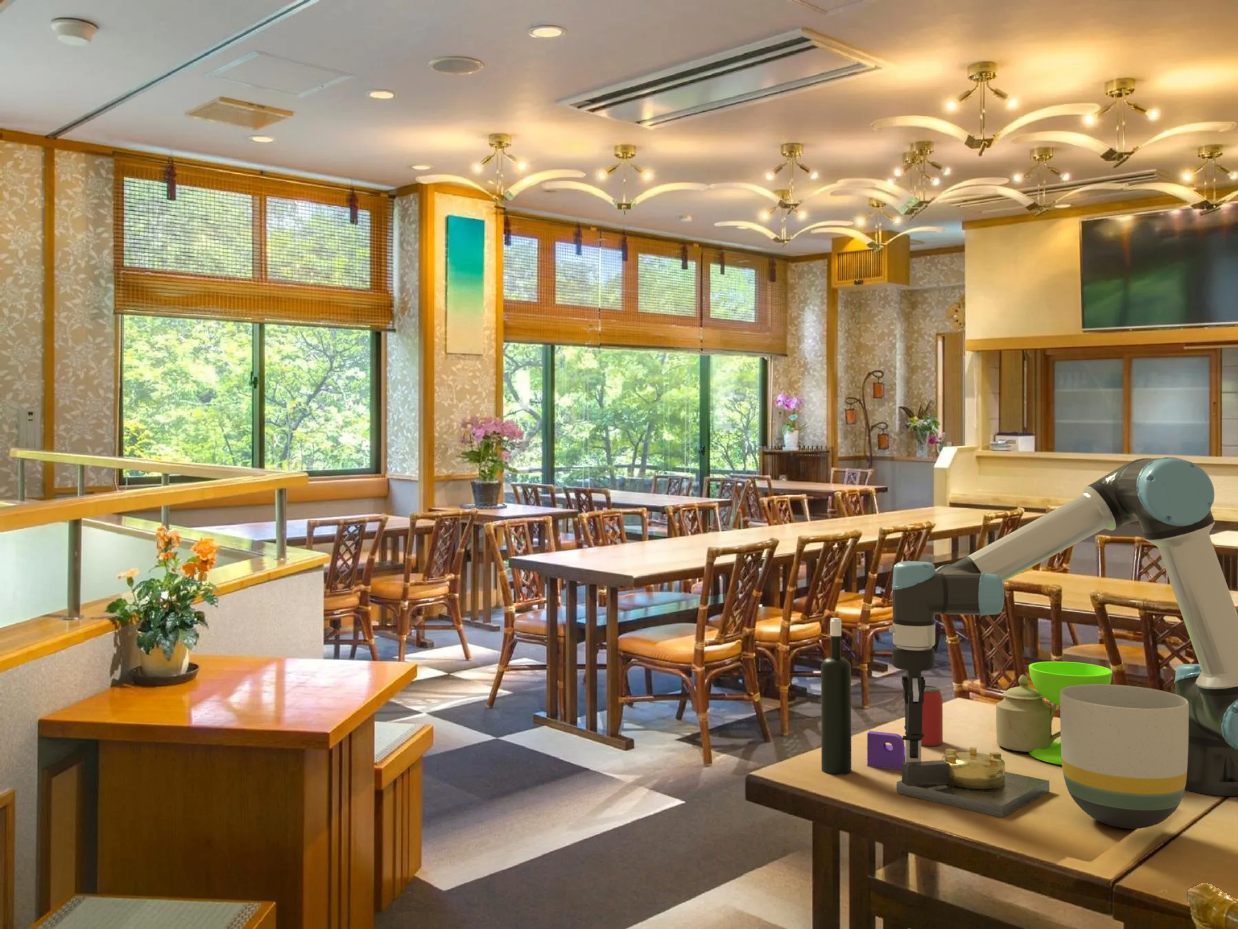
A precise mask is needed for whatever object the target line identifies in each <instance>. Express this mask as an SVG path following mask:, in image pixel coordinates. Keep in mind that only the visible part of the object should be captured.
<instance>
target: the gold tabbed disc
mask: <svg viewBox="0 0 1238 929" xmlns="http://www.w3.org/2000/svg"><path fill="white" fill-rule="evenodd" d="M977 750H978V748H977V747H974V746H973V747H971V746H970V747H969V751H966V752H965V751H959V752H958V750H957V749H953V748H946V749H945V754H944V755H942V756H941V759H939V760H937V759H936V760H924V761H922V760H921V761H920V762H904V763H902V770H901V780H902V783H904V784H905V785H907V786H919V785H934V784H949V783H950V784H952V785H956V786H960V787H966V788H975V789H990V788H997V787H1001V786H1003V785H1004V784H1005V772H1006V762H1005V761H1004V760H1003V758H1002V753H1000V752H995V751H994V752H989V754H986V753H982V752H981V753H980V752H977Z"/></svg>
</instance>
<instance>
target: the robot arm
mask: <svg viewBox="0 0 1238 929" xmlns="http://www.w3.org/2000/svg"><path fill="white" fill-rule="evenodd" d="M1214 502H1215V488H1214V485H1213V482H1212V479H1211V478H1210V476H1209V475H1208V473H1207V472H1206V471H1205V470H1204V469H1203V468H1202V467H1200V466H1199V465H1197V464H1196V463H1194V462H1192V461H1190V460H1186V459H1182V458H1179V457H1169V456H1167V457H1166V456H1165V457H1156V458H1153V457H1152V458H1150V457H1148V458H1147V457H1145V458H1138V459H1134V460H1131V461H1129V462H1127V463H1124V464H1123V465H1121V466H1119V467H1118V468H1116V469H1114V470H1112V471H1111V472H1109V473H1107V474H1106V475H1104V476H1103V477H1102V476H1101V478H1099V479H1097V480H1096V481H1094V482H1092V483H1090V484H1088V485H1086V486H1085V487H1084V488H1083V491H1082V494H1081V495H1079V496H1077V497H1076V498H1074V499H1072V500H1070V501H1068V502H1066V503H1064V504H1063V505H1061V506H1058V507H1057V508H1054V509H1053V510H1051V511H1049V512H1048V513H1046V514H1043V515H1041V516H1040V517H1038V518H1037V519H1034V520H1032V521H1031V522H1029V523H1027V524H1025V525H1023V526H1022V527H1019V528H1018V529H1016V530H1014V531H1011V533H1009V534H1007V535H1005V536H1002V537H1001V538H999V539H997V540H995V541H993V542H991V543H990V544H988V545H986V546H984V547H982V548H980V549H978V550H977V551H975V552H973V553H971V554H969V555H968V556H966V557H964V558H962V559H959V560H957V561H956V562H954V563H952V564H950V563H948V564H944V565H941V566H939V567H937V568H936V567H935V564H934V563H932V562H929V561H918V560H913V561H912V560H911V561H910V560H905V561H899V562H897V563H896V564H895V565H894V566H893V570H892V572H893V573H892V585H891V589H892V591H891V592H892V594H891V595H892V596H891V597H892V598H891V600H892V626H893V627H889V628H888V632H889V633H891V634H892V644H893V645H894V646H893V647H892V657H891V658H892V660H891V662H892V666H893V667H894V668H896V669H898V670H902V671H904V670H905V675H901V685H902V698H903V700H904V725H903V726H904V731H905V732H904V735H902V738H903V740H904V747H905V762H920V761H922V746H921V740H922V737H924V734H923V733H922V710H923V703H924V690H925V685H926V679H925V677H924V676H922V672H923V671H931V670H933V669H934V668H935V667H936V666H935V663H936V660H935V656H936V653H935V651H936V650H935V649H934V648H933V647H934V646H935V645H936V621H935V618H936V615H962V616H963V615H964V616H965V615H969V616H970V615H971V616H972V615H973V616H982V617H983V616H984V617H985V616H989V615H990V616H991V615H999V614H1000V613H1001V612H1002V610H1003V608H1004V604H1005V588H1004V582H1006V581H1007V580H1010V579H1011V578H1014V577H1015V576H1018V575H1019V574H1021V573H1023V572H1025V571H1027V570H1028V569H1030V568H1033V567H1035V566H1036V565H1038V564H1041V563H1042V562H1044V561H1046V560H1048V559H1050V558H1051V557H1053V556H1055V555H1057V554H1059V553H1061V552H1063V551H1065V550H1066V549H1068V548H1071V547H1072V546H1074V545H1076V544H1078V543H1080V542H1082V541H1084V540H1086V539H1088V538H1089V537H1091V536H1093V535H1095V534H1097V533H1099V532H1100V531H1102V530H1108V531H1115V530H1117V529H1118V528H1120V527H1122V526H1124V525H1127V524H1131V523H1135V522H1139V525H1140V528H1141V530H1142V534H1143V536H1144V539H1145V541H1146V542H1148V543H1150V544H1152V545H1154V546H1156V547H1157V549H1158V551H1159V554H1160V557H1161V560H1162V562H1163V566H1164V569H1165V571H1166V574H1167V577H1168V580H1169V582H1170V585H1171V588H1172V592H1173V593H1174V597H1175V599H1176V602H1177V605H1178V608H1179V610H1180V613H1181V616H1182V619H1183V622H1184V625H1185V628H1186V630H1187V634H1188V636H1189V639H1190V642H1191V645H1192V648H1193V651H1194V653H1195V656H1196V658H1197V661H1198V663H1185V664H1180V665H1179V666H1177V667H1176V670H1175V676H1174V677H1175V678H1174V681H1173V682H1174V683H1173V685H1174V694H1176V695H1179V696H1181V697H1183V698H1185V699H1187V701H1188V703H1189V728H1188V763H1187V778H1186V786H1185V790H1184V791H1189V792H1193V793H1197V794H1202V795H1210V796H1218V797H1219V796H1220V797H1238V611H1237V609H1236V606H1235V603H1234V601H1233V597H1232V595H1231V591H1230V589H1229V587H1228V584H1227V582H1226V578H1225V575H1224V573H1223V570H1222V567H1221V564H1220V561H1219V559H1218V555H1217V553H1216V550H1215V548H1214V544H1213V541H1212V538H1211V536H1210V532H1211V530H1212V529H1213V528H1214V525H1215V524H1216V522H1215V518H1214V515H1213V512H1212V510H1211V509H1212V507H1213V504H1214Z"/></svg>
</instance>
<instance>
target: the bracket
mask: <svg viewBox="0 0 1238 929" xmlns="http://www.w3.org/2000/svg"><path fill="white" fill-rule="evenodd" d="M866 739H867V740H866V743H867V746H866V747H867V750H866V751H867V756H866V757H867V758H866V761H867V763H866V765H867V767H873V768H882V769H890V770H891V769H892V770H897V771H898V770H900V771H902V763H904V762H905V740H903V736H901V735H900V734H899V733H892V732H886V731H885V732H884V731H883V732H882V731H874V730H869V731H867V736H866ZM888 743H889V744H888Z"/></svg>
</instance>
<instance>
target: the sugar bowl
mask: <svg viewBox="0 0 1238 929" xmlns="http://www.w3.org/2000/svg"><path fill="white" fill-rule="evenodd" d="M1028 683H1029V680H1028V677H1027V676H1026V675H1024V674H1021V675H1020V676H1019V678H1018V684H1019V686H1015V687H1011V688H1009V689H1007V690H1006V691H1003V693H1002V696H1003V699H1002V700H1001V701H998V702H996V706H995V707H996V708H995V729H996V730H995V731H996V732H995V733H996V744H997V745H998V746H999V747H1001V748H1004V749H1007V750H1011V751H1017V752H1028V753H1029V752H1032V751H1033V750H1035V749H1047V748H1049V747H1051V743H1052V742H1053V741H1055V740H1057V739H1058V738H1061V732H1060V730H1059V731H1057V732H1055V733H1054V734H1053V733H1052V731H1053V730H1052V723H1053V719H1054V717H1055V712H1056V709H1057V706H1058V705H1056V704H1054V703H1051V706H1050V705H1049V704H1047V703H1045V702H1044V700H1043V699H1045V698H1044V697H1043V696H1042V695H1041V694H1040V693H1039V692H1038V691H1037V689H1036V688H1031V687H1028Z"/></svg>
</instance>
